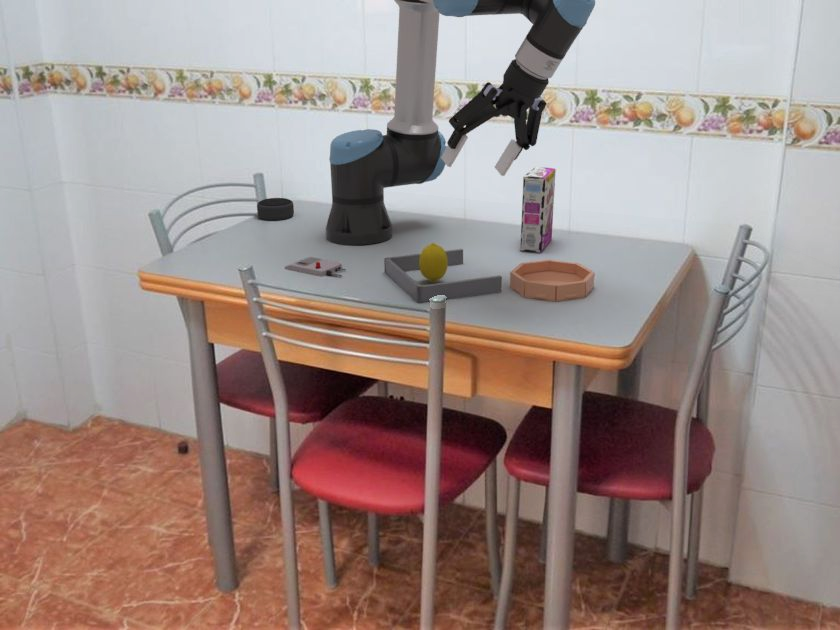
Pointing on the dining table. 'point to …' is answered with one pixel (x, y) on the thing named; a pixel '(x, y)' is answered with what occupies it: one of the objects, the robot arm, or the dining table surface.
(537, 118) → the robot arm
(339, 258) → the dining table surface
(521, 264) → the bowl
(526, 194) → the candy bar box
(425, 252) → the lemon
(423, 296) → the grey u-shaped fence
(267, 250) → the dining table surface
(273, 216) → the smart speaker
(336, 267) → the moisture meter
